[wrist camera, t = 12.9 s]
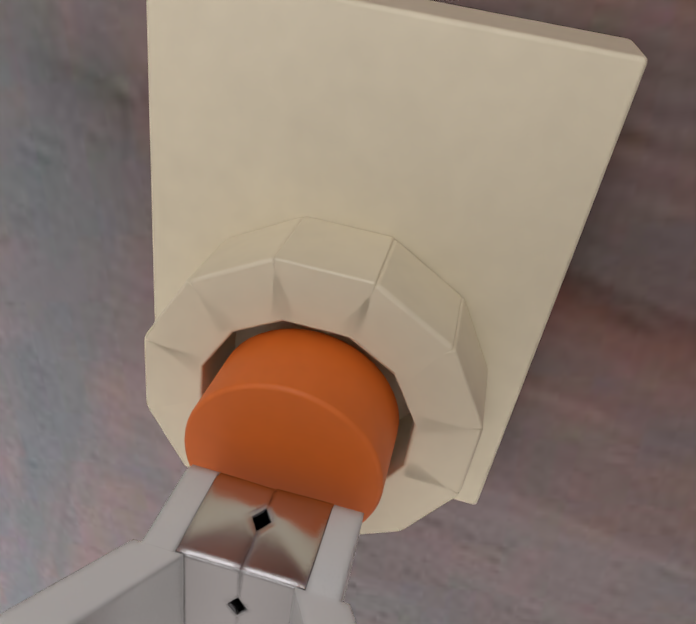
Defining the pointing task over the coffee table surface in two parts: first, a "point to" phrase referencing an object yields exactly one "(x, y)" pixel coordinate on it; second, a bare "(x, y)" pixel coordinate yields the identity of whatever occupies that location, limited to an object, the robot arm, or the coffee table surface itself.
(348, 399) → the button
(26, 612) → the robot arm
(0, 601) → the coffee table surface
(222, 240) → the button box
